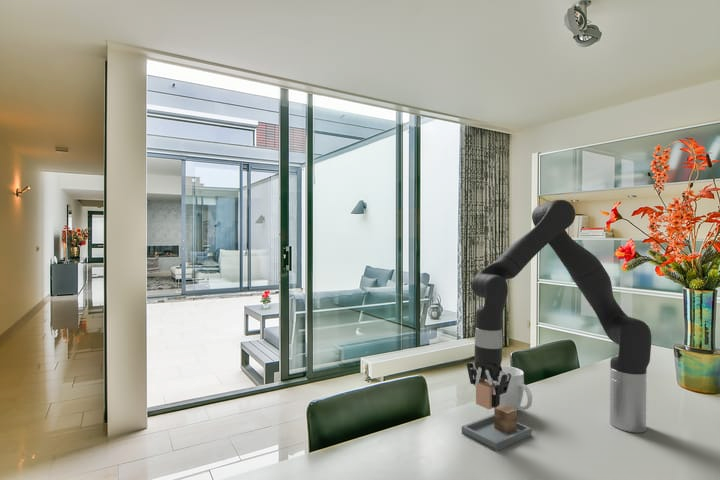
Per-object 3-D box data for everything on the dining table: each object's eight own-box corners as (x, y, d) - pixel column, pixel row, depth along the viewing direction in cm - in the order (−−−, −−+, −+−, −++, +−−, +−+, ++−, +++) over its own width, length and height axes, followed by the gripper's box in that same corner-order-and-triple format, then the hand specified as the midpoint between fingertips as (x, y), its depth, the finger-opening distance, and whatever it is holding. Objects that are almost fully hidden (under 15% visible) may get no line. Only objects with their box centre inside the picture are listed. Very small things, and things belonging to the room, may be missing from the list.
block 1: (475, 403, 115) (476, 383, 115) (486, 400, 118) (486, 380, 118) (488, 409, 112) (489, 387, 112) (499, 405, 114) (499, 384, 114)
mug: (541, 416, 129) (541, 375, 129) (520, 424, 123) (520, 382, 123) (502, 400, 142) (502, 363, 142) (481, 407, 136) (481, 368, 136)
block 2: (494, 427, 120) (494, 407, 120) (503, 424, 122) (503, 404, 122) (507, 434, 116) (507, 413, 116) (516, 430, 119) (516, 409, 119)
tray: (496, 419, 127) (496, 413, 127) (531, 435, 117) (531, 428, 117) (461, 433, 118) (461, 426, 118) (496, 451, 108) (496, 443, 108)
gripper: (518, 348, 111) (517, 409, 111) (476, 337, 123) (476, 393, 123) (501, 351, 107) (500, 416, 107) (460, 340, 119) (459, 398, 119)
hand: (487, 403), depth 115 cm, fingers closed on block 1, 4 cm apart
